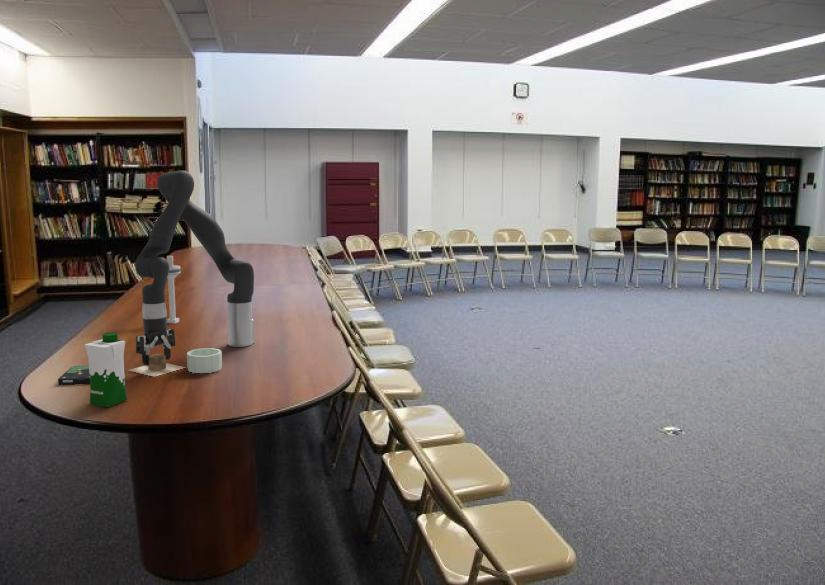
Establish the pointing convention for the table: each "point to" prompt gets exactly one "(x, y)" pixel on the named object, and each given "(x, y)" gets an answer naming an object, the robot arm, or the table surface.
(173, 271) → the model tower
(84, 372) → the disk drive
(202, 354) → the green bowl
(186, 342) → the table surface
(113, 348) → the milk carton
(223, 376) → the table surface
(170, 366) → the birch lid
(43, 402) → the table surface
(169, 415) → the table surface
